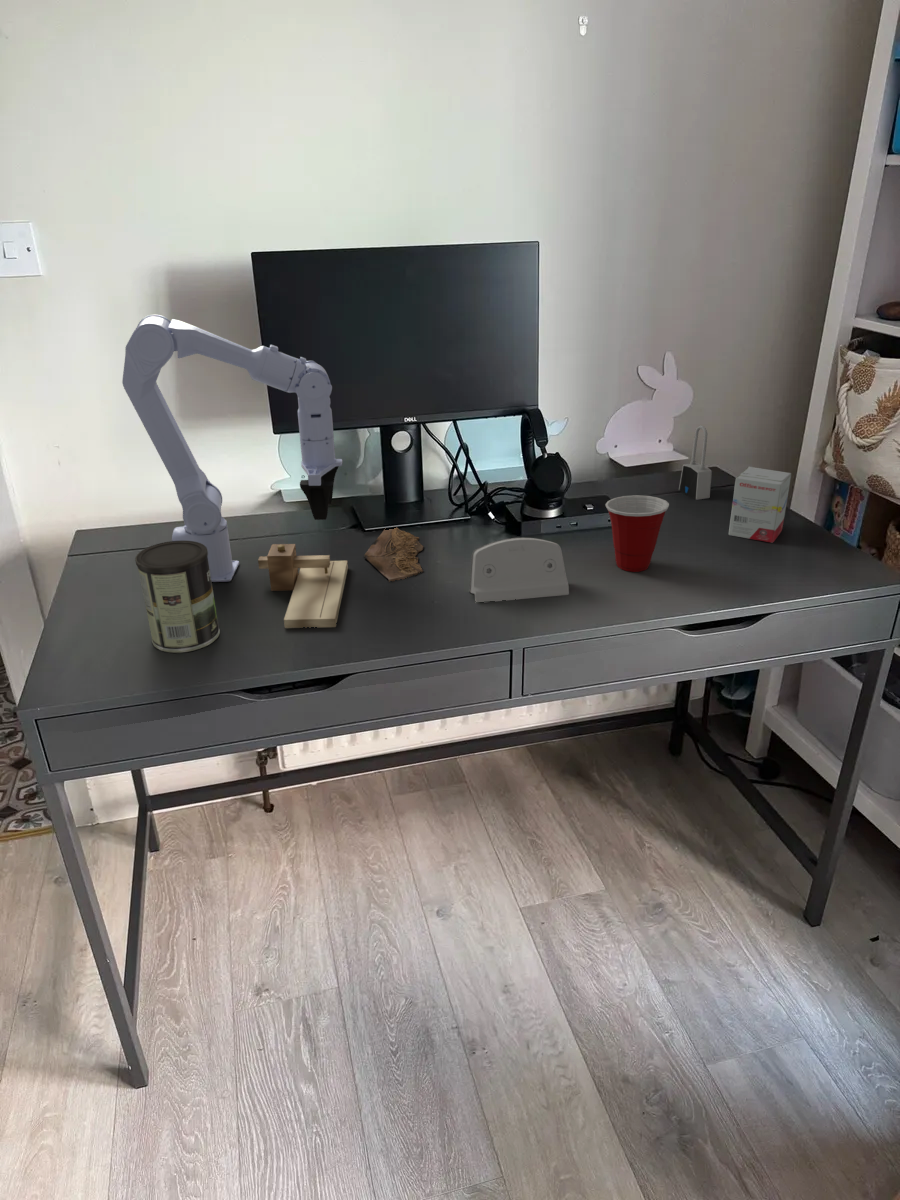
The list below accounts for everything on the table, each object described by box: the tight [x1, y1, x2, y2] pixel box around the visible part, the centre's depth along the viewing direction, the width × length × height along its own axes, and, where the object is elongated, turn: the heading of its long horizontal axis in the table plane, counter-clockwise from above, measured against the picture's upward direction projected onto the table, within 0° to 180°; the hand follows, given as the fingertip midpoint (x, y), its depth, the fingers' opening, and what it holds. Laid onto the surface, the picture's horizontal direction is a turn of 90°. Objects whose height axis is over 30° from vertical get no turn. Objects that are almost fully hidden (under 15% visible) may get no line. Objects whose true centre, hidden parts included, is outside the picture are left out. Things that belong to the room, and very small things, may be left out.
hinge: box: [469, 537, 570, 603], centre depth 146 cm, size 17×5×10 cm, turn 100°
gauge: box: [257, 543, 331, 592], centre depth 149 cm, size 12×5×7 cm, turn 91°
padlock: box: [678, 425, 713, 501], centre depth 184 cm, size 7×4×15 cm, turn 20°
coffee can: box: [134, 540, 221, 654], centre depth 131 cm, size 10×10×14 cm
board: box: [283, 560, 349, 629], centre depth 145 cm, size 8×22×2 cm, turn 1°
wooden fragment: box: [363, 527, 424, 583], centre depth 162 cm, size 26×11×1 cm, turn 2°
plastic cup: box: [604, 494, 670, 573], centre depth 152 cm, size 11×11×12 cm
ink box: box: [728, 466, 792, 544], centre depth 165 cm, size 9×9×12 cm
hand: (323, 511), depth 154 cm, fingers open, 7 cm apart
